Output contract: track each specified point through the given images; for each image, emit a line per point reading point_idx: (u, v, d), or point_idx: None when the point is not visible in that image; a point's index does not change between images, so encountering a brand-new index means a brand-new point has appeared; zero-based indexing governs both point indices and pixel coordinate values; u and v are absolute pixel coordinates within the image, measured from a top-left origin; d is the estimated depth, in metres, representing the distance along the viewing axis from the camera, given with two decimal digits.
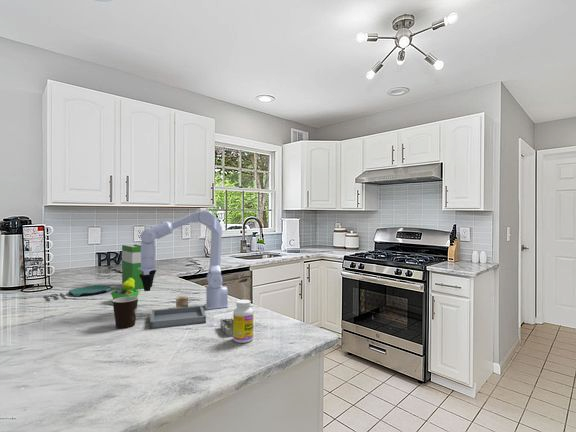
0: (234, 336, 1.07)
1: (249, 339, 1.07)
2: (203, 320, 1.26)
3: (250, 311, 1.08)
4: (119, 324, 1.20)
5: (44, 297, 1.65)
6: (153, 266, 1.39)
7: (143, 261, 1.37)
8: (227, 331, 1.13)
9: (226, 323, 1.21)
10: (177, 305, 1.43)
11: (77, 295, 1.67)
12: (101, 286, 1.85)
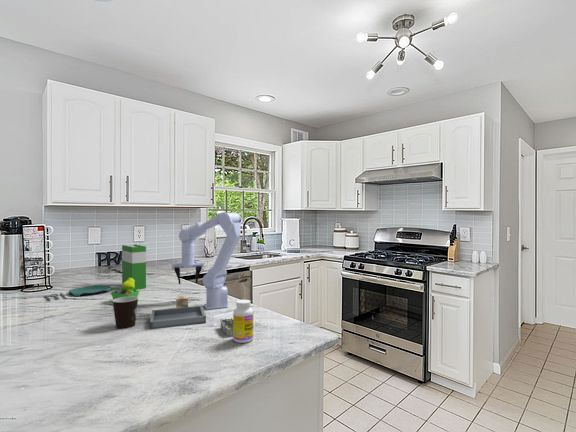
0: (234, 336, 1.07)
1: (249, 339, 1.07)
2: (203, 320, 1.26)
3: (250, 311, 1.08)
4: (119, 324, 1.20)
5: (44, 297, 1.65)
6: (184, 263, 1.53)
7: None
8: (228, 331, 1.13)
9: (226, 323, 1.21)
10: (177, 305, 1.43)
11: (77, 295, 1.67)
12: (101, 286, 1.86)
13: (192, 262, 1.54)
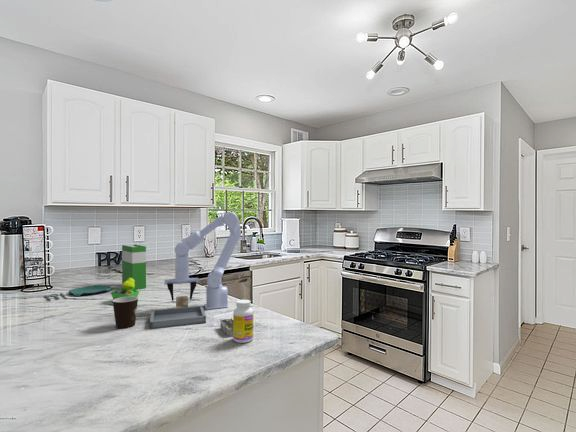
0: (234, 336, 1.07)
1: (249, 339, 1.07)
2: (203, 320, 1.26)
3: (250, 311, 1.08)
4: (119, 324, 1.20)
5: (44, 297, 1.65)
6: (178, 278, 1.44)
7: None
8: (228, 331, 1.13)
9: (226, 323, 1.21)
10: (177, 305, 1.43)
11: (77, 295, 1.68)
12: (101, 286, 1.86)
13: (186, 278, 1.45)
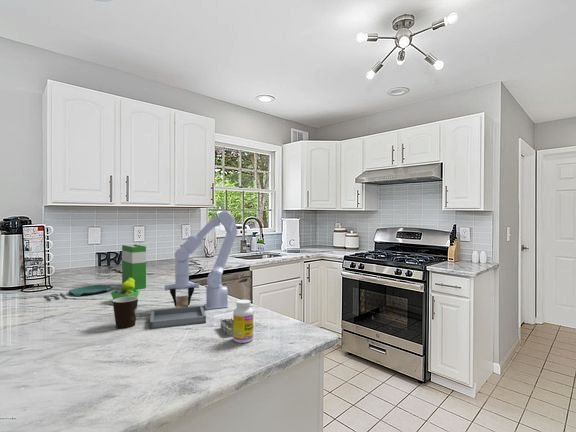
0: (234, 336, 1.07)
1: (249, 339, 1.07)
2: (203, 320, 1.26)
3: (250, 311, 1.08)
4: (119, 324, 1.20)
5: (44, 297, 1.65)
6: (178, 284, 1.44)
7: None
8: (228, 331, 1.13)
9: (226, 323, 1.21)
10: (177, 305, 1.43)
11: (78, 295, 1.68)
12: (101, 286, 1.86)
13: (186, 283, 1.45)
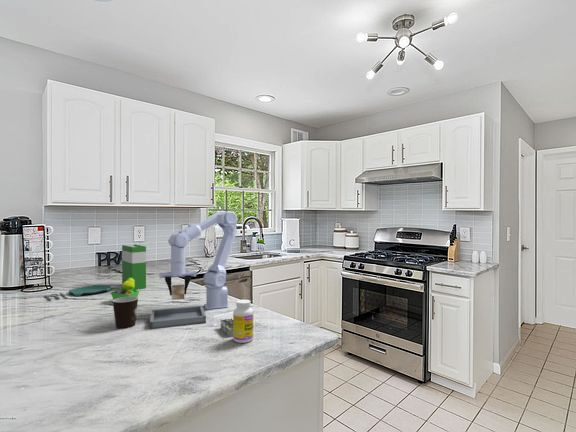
0: (234, 336, 1.07)
1: (249, 339, 1.07)
2: (203, 320, 1.26)
3: (250, 311, 1.08)
4: (119, 324, 1.20)
5: (44, 297, 1.65)
6: (173, 272, 1.34)
7: None
8: (229, 331, 1.13)
9: (226, 323, 1.21)
10: (172, 294, 1.34)
11: (78, 295, 1.68)
12: (101, 286, 1.86)
13: (183, 271, 1.36)
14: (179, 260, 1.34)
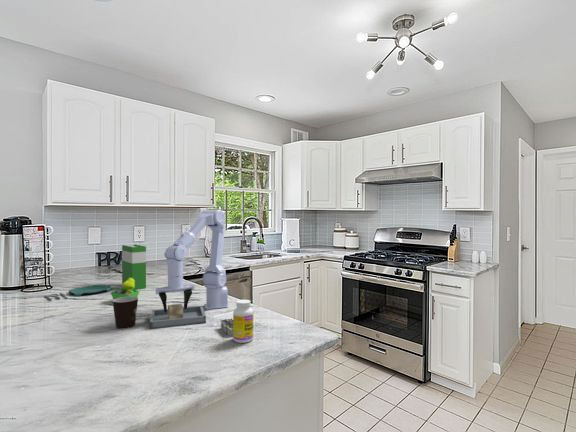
0: (234, 336, 1.07)
1: (249, 339, 1.07)
2: (203, 320, 1.26)
3: (250, 311, 1.08)
4: (119, 324, 1.20)
5: (44, 297, 1.65)
6: (172, 286, 1.27)
7: None
8: (229, 331, 1.13)
9: (226, 323, 1.21)
10: (171, 315, 1.27)
11: (78, 295, 1.68)
12: (100, 286, 1.86)
13: (181, 285, 1.29)
14: (178, 274, 1.28)
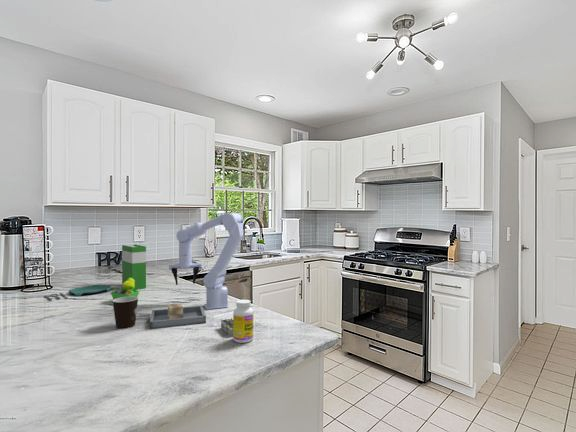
0: (234, 336, 1.07)
1: (249, 339, 1.07)
2: (203, 320, 1.26)
3: (250, 311, 1.08)
4: (119, 324, 1.20)
5: (45, 297, 1.65)
6: (181, 263, 1.51)
7: None
8: (230, 331, 1.13)
9: (226, 323, 1.21)
10: (171, 315, 1.27)
11: (78, 295, 1.68)
12: (100, 286, 1.87)
13: (189, 263, 1.52)
14: (180, 253, 1.51)
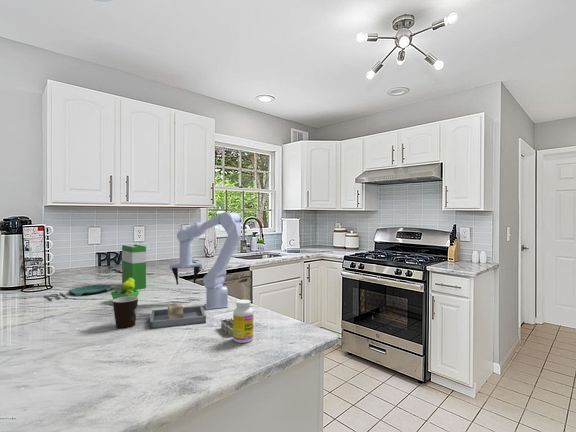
0: (234, 336, 1.07)
1: (249, 339, 1.07)
2: (203, 320, 1.26)
3: (250, 311, 1.08)
4: (119, 324, 1.20)
5: (45, 297, 1.65)
6: (182, 263, 1.52)
7: None
8: (230, 331, 1.13)
9: (226, 323, 1.21)
10: (171, 315, 1.27)
11: (79, 294, 1.69)
12: (100, 286, 1.87)
13: (190, 262, 1.53)
14: (180, 253, 1.52)
